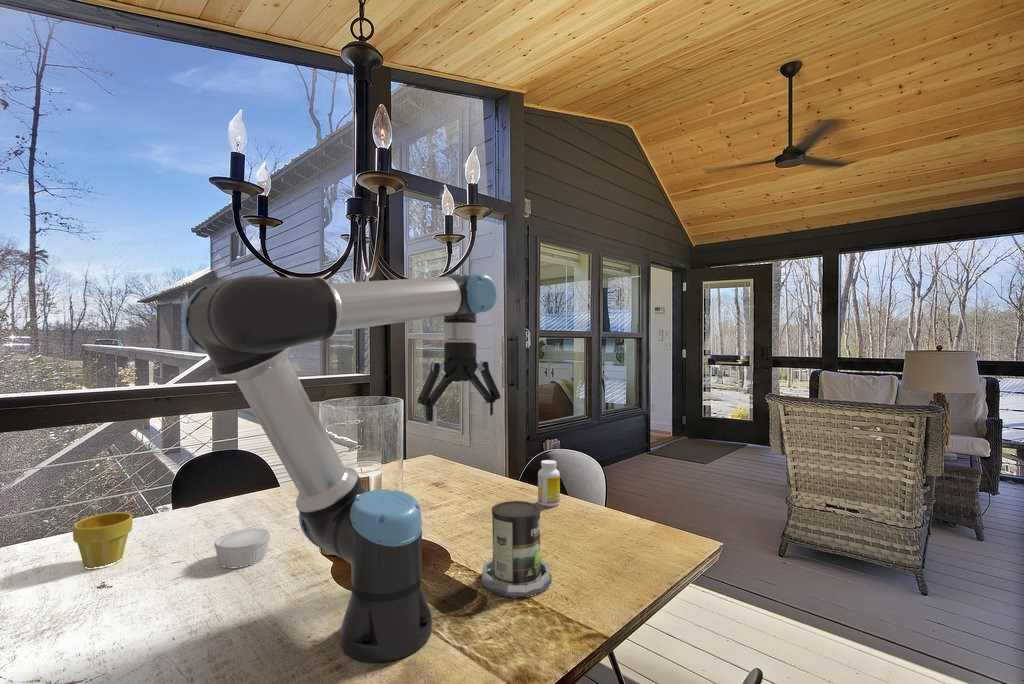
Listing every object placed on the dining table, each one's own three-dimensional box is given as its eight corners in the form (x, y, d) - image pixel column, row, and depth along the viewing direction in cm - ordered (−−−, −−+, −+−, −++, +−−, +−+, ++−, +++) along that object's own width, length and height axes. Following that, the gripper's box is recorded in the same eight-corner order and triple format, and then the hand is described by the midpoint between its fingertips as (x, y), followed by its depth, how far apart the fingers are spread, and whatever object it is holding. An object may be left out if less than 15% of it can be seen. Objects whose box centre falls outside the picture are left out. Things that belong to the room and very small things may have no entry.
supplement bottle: (563, 502, 152) (563, 460, 152) (553, 508, 146) (553, 465, 146) (544, 498, 156) (544, 458, 155) (533, 504, 150) (534, 462, 150)
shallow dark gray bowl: (503, 605, 94) (503, 593, 94) (469, 573, 107) (469, 562, 107) (565, 585, 102) (565, 574, 101) (526, 557, 114) (526, 547, 114)
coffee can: (544, 566, 108) (544, 502, 108) (536, 589, 98) (535, 518, 98) (498, 562, 110) (498, 499, 110) (486, 584, 100) (485, 515, 100)
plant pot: (137, 562, 112) (136, 519, 112) (76, 578, 104) (76, 532, 104) (127, 548, 119) (127, 508, 119) (70, 563, 111) (70, 520, 111)
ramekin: (224, 551, 117) (224, 529, 117) (275, 547, 120) (275, 525, 120) (206, 574, 107) (206, 549, 106) (263, 568, 109) (262, 544, 109)
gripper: (499, 340, 125) (498, 424, 125) (403, 341, 112) (403, 434, 113) (514, 341, 119) (514, 429, 119) (414, 341, 106) (414, 440, 106)
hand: (460, 432), depth 116 cm, fingers open, 13 cm apart
